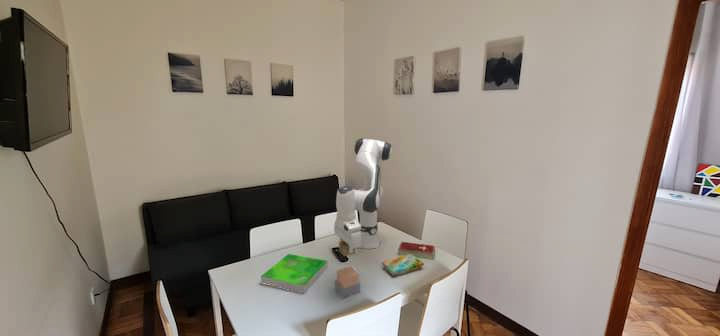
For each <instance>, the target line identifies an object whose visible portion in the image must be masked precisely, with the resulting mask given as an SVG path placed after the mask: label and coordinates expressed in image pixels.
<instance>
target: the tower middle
mask: <svg viewBox="0 0 720 336" xmlns="http://www.w3.org/2000/svg"><path fill="white" fill-rule="evenodd" d="M336 279H337V281H338V282H339V283H340V285H341V286H342V287H343V288H347V287H350V286H353V285H356V284H359V283H360V275H359V273H358V272H357V271H356V270H355V269H354V268H353V266H349V267H345V268H341V269H337V270H336Z"/></svg>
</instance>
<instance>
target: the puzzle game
mask: <svg viewBox="0 0 720 336" xmlns="http://www.w3.org/2000/svg"><path fill="white" fill-rule="evenodd" d="M381 265H382V267H383V268H384V269H385V270H386V271H387V272H388V273H390V274H391V276H393V277H397V276H399V275H403V274H407V273H410V272H413V271H417V270H419V268H420V267H424V265H425V264H424V262H423V261H422V260H420V259H419V258H418V257H415V256H413V255H412V254H410V255H406V256H405V255H401V256H399V257H394V258H390V259H387V260H383V261H381Z"/></svg>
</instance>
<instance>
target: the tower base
mask: <svg viewBox="0 0 720 336" xmlns="http://www.w3.org/2000/svg"><path fill="white" fill-rule="evenodd" d="M334 289H335V290H336V291H337V293H338V294H339V296H341V297H342V299H345V298H349V297H351V296H354V295H357V294H360V293H361V283H360V282H359V284H356V285H353V286H350V287H347V288H343V287H342V286H341V285H340V283H339V282H338V281H337V278H336V279H334Z"/></svg>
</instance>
